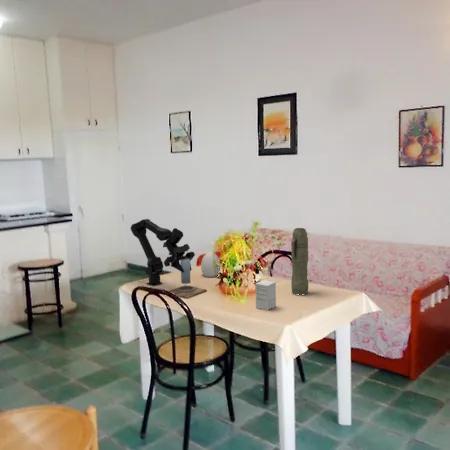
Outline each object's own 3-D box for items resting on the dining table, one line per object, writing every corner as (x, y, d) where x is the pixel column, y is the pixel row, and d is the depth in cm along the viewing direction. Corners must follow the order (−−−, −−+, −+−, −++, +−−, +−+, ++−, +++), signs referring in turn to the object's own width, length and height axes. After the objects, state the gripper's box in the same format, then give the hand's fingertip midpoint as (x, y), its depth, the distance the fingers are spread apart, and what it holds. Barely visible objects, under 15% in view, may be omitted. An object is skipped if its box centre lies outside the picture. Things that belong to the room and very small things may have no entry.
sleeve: (180, 281, 269) (179, 258, 267) (189, 280, 271) (188, 257, 269) (182, 284, 264) (181, 260, 262) (191, 283, 266) (190, 259, 264)
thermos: (286, 294, 261) (286, 229, 256) (298, 289, 270) (298, 226, 264) (300, 297, 255) (300, 231, 250) (312, 292, 264) (312, 227, 259)
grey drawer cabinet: (264, 304, 245) (263, 279, 244) (276, 306, 241) (276, 282, 239) (255, 308, 240) (255, 283, 238) (267, 310, 235) (267, 285, 233)
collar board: (165, 293, 267) (165, 289, 267) (185, 287, 280) (185, 282, 279) (187, 298, 257) (187, 294, 257) (206, 291, 270) (206, 287, 269)
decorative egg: (221, 277, 298) (220, 253, 296) (201, 278, 298) (200, 254, 295) (221, 272, 310) (220, 249, 308) (201, 273, 310) (200, 250, 307)
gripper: (166, 242, 260) (180, 265, 254) (192, 237, 273) (206, 259, 268) (157, 254, 267) (171, 278, 261) (183, 249, 280) (197, 271, 274)
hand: (187, 271), depth 266 cm, fingers closed on sleeve, 5 cm apart
